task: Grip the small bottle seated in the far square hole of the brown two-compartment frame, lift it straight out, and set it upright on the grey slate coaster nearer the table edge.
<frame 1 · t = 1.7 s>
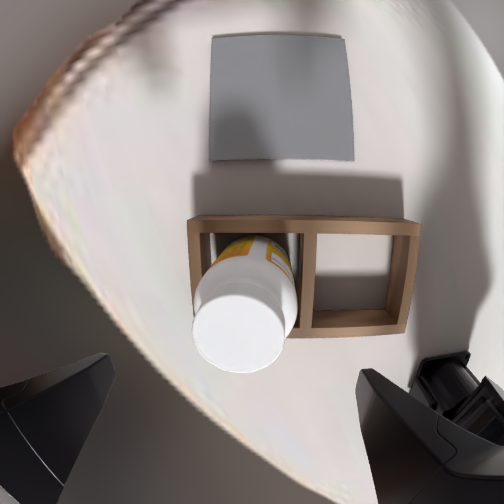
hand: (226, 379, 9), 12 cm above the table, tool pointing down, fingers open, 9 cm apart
brown two-compartment frame: (304, 270, 20), on the table
coaster: (280, 93, 17), on the table
supplement bottle: (255, 269, 21), resting in brown two-compartment frame
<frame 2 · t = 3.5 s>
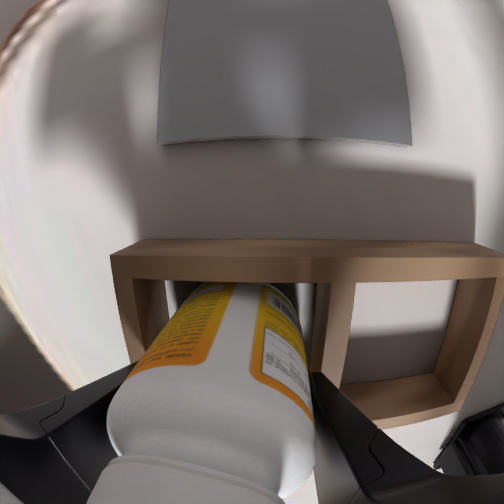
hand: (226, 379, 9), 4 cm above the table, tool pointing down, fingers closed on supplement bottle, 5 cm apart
brown two-compartment frame: (322, 330, 12), on the table
coaster: (282, 32, 9), on the table
supplement bottle: (240, 327, 12), resting in brown two-compartment frame, touching gripper
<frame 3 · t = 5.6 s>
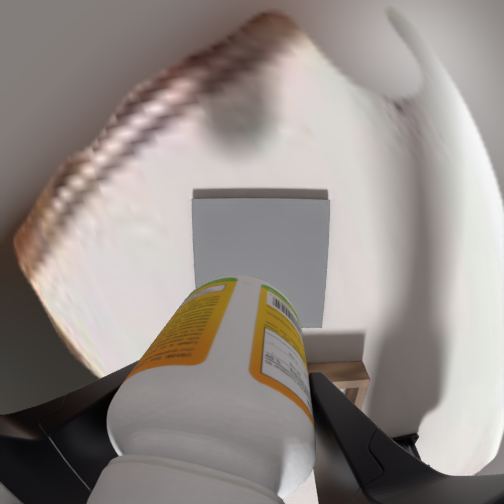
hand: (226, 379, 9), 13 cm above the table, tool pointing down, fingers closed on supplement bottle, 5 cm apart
brown two-compartment frame: (276, 395, 24), on the table
coaster: (260, 264, 21), on the table
supplement bottle: (239, 327, 12), point 9 cm above the table, touching gripper
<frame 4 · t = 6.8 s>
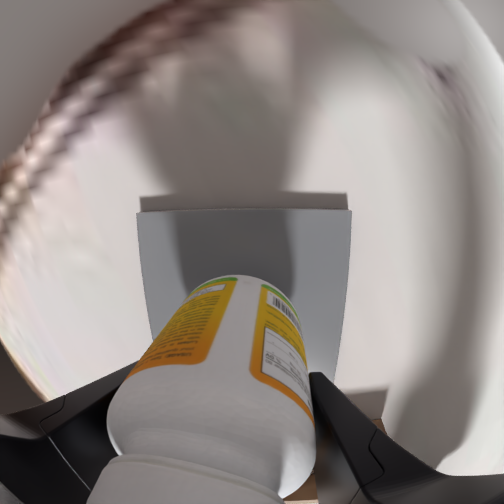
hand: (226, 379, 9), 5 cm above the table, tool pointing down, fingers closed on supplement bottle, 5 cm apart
brown two-compartment frame: (270, 457, 17), on the table
coaster: (242, 309, 14), on the table
supplement bottle: (240, 327, 12), point 2 cm above the table, touching gripper
when the fingers open (5 cm above the table, at t = 7.6 s): supplement bottle drops 1 cm, resting on coaster.
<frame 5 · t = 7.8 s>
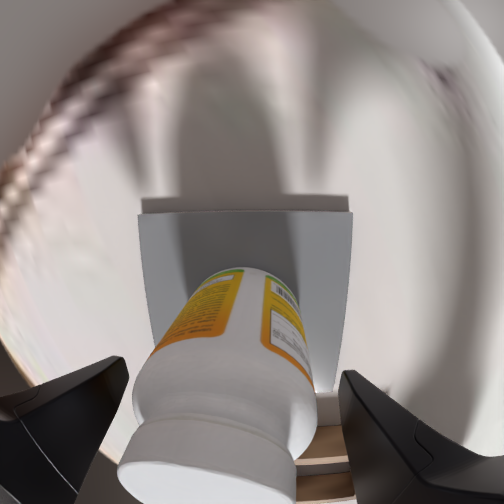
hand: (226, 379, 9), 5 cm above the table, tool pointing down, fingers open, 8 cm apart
brown two-compartment frame: (270, 458, 17), on the table
coaster: (244, 311, 14), on the table
supplement bottle: (245, 316, 14), resting on coaster
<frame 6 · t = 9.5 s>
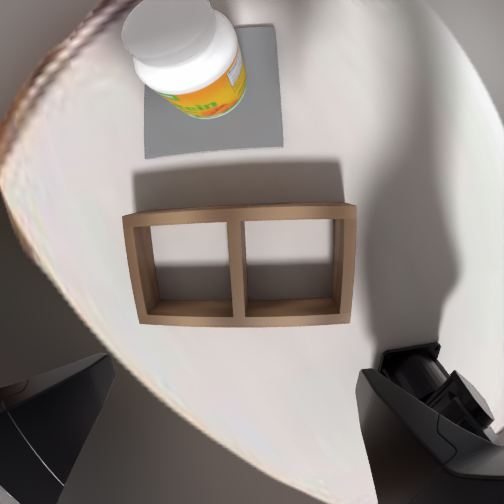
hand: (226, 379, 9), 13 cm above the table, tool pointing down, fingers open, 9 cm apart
brown two-compartment frame: (240, 260, 21), on the table
coaster: (210, 87, 18), on the table
supplement bottle: (210, 86, 17), resting on coaster
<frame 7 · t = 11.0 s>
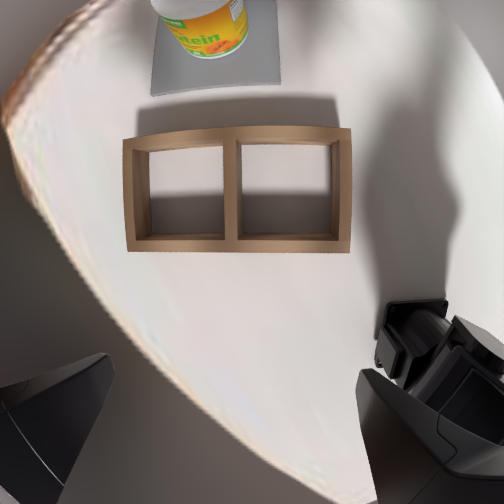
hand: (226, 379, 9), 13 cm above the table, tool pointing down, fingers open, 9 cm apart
brown two-compartment frame: (236, 188, 20), on the table
coaster: (215, 36, 17), on the table
supplement bottle: (215, 35, 17), resting on coaster
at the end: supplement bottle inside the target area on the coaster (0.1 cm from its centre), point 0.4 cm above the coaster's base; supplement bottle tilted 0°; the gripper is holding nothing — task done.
